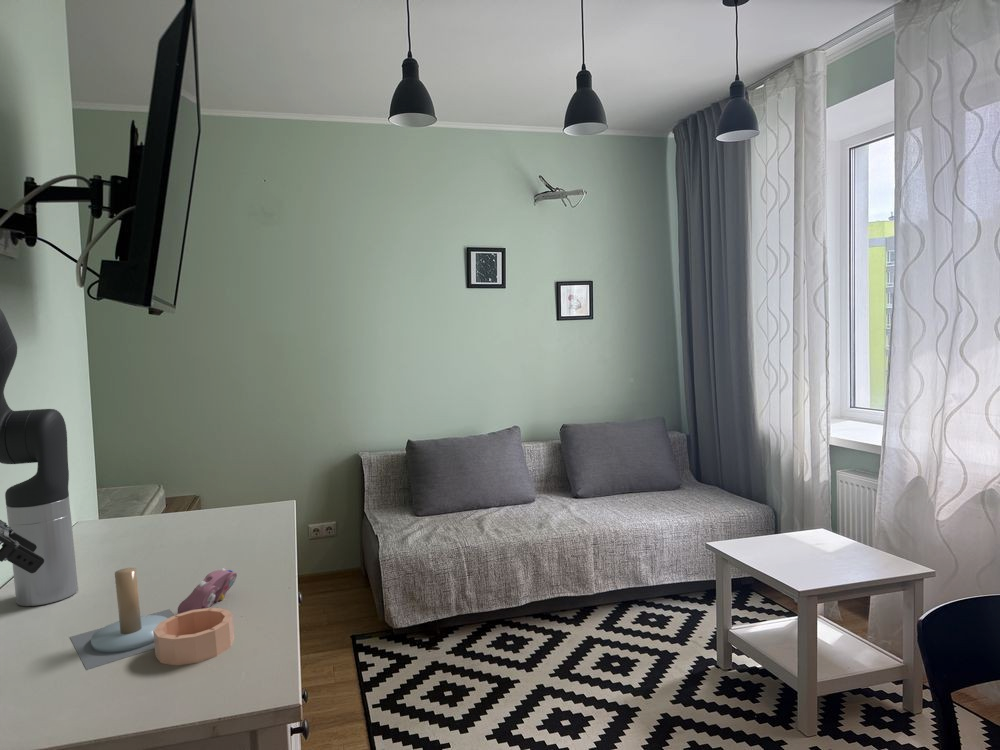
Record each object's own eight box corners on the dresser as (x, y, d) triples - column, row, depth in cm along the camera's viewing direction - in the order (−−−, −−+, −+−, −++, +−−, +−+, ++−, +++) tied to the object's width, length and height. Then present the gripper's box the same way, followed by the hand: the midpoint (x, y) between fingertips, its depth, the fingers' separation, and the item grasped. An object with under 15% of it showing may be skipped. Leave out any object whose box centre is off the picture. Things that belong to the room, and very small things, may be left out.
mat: (69, 639, 105) (69, 636, 105) (169, 611, 114) (169, 609, 114) (86, 672, 94) (86, 669, 94) (195, 638, 103) (194, 635, 103)
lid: (85, 637, 105) (78, 572, 104) (160, 615, 111) (154, 554, 110) (99, 660, 97) (92, 590, 96) (178, 635, 103) (172, 569, 102)
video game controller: (197, 628, 110) (212, 590, 109) (172, 615, 111) (187, 577, 110) (231, 603, 120) (245, 568, 119) (209, 591, 121) (222, 556, 120)
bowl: (149, 650, 100) (146, 623, 100) (220, 627, 106) (218, 602, 106) (168, 674, 92) (165, 645, 92) (243, 649, 99) (241, 622, 98)
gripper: (-57, 477, 84) (64, 547, 92) (-59, 462, 95) (49, 526, 103) (-110, 530, 81) (19, 597, 89) (-106, 509, 92) (9, 570, 100)
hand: (35, 559), depth 96 cm, fingers open, 8 cm apart
